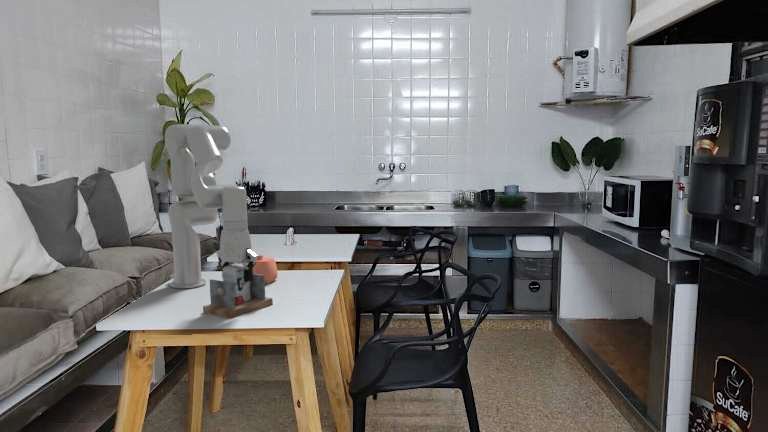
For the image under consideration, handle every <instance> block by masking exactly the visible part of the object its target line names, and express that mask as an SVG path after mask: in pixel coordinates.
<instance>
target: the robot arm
mask: <svg viewBox="0 0 768 432" xmlns="http://www.w3.org/2000/svg"><path fill="white" fill-rule="evenodd" d="M231 141H232V139H231V135H230V132H229V130H228V129H227V128H226V127H225V126H223V125H213V124H189V123H187V124H186V123H183V124H182V123H180V124H172V125H170V126H168V127H167V128H166V130H165V134H164V142H165V146H166V149H167V153H168V155H169V159H170V176H171V177H170V180H171V190H172V194H173V195H174V196H175V197H178V198H194V199H195V200H192V199H191V200H181V201H180V200H179V201H175V202H173V203H171V204H170V206H169V207H168V210H167V211H168V212H167V216H168V220H169V224H170V227H171V228H170V229H171V239H172V255H173V273H171V274H170V275H169V277H170V278H173V280H172V281H171V282H170V287H171V288H174V289H194V288H199V287H202V286H205V285H206V284H207V280H206V279H204V278H202V265H201V261H202V260H201V243H200V237H199V235H198V232H196V230H195V229H194V228H193V227H196V226H207V225H212V224H214V223H215V222H216V221H217V219H218V209H221V210H222V212H221V213H222V215H221V216H222V230H221V233H220V239H219V250H216V255H217V259H218V261H219V263H220V267H221V277H222V279H223V267H226V266H229V265H231V264H235V263H238V264H239V263H242V264H243V266H244V268H245V269H244V282H249V281H252V280H253V269H252V268H254V265H255V264H256V261H257V258H258V256H257V255H258V254H256V253H255V252H254V251H253V249H252V241H251V235H250V231H249V229H248V228H249V227H248V226H249V225H248V204H247V203H248V201H247V189H246V188H245V187H244V186H240V185H236V184H217V180H216V177H215V175H214V174H213V173H214V172H216V171H218V170H219V169H220V168H221V167H222V165H223V163H224V162H223V161H224V159H223V156H222V154H221V151H225V150H228V149H229V148H230V146H231ZM189 149H190V150H189ZM247 263H248V265H247Z"/></svg>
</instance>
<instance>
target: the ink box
mask: <svg viewBox="0 0 768 432" xmlns="http://www.w3.org/2000/svg"><path fill="white" fill-rule="evenodd" d="M247 265H248V264H247ZM244 269H245V268H244V266H243V264H242V263H239V264H238V263H231V264H229V266H226V267H223V278H222V281H224V282H230V283H234V295H235V305H239V304H241V303H243V302H246V301H248V300H250V281H249V282H244Z"/></svg>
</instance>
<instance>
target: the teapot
mask: <svg viewBox="0 0 768 432" xmlns="http://www.w3.org/2000/svg"><path fill="white" fill-rule="evenodd" d="M256 255H257V256H258V258H257V261H256V264H255V265H254V268H252V269H253V274H260V275H264V277H265V285H266V284H270V283H272V282H274V281H276V280H277V278H278V273H279V272H278V268H277V263H276V260H275V257H269V256H268V257H264V255H263V254H256ZM247 264H248V263H247Z"/></svg>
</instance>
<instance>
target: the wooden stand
mask: <svg viewBox="0 0 768 432" xmlns="http://www.w3.org/2000/svg"><path fill="white" fill-rule="evenodd" d="M209 291H210V292H209V293H210V294H209V295H210V304H209V303H208V304H206V305H202V312H203V313H204V314H208V315H213V316H217V317H223V318H226V319H232V318H235V317H238V316H241V315H244V314H248V313H251V312H253V311H254V312H255V311H257V310H259V309H262V308H266V307H269V306H272V305H273V303H274V302H273V301H274V300H273V298H272V297H267V296H266V284H265V277H264V275H260V274H253V280H252V281H250V300H248V301H246V302H243V303H241V304H239V305H235V295H234V283H230V282H224V281H223V280H217V279H211V278H210V279H209Z"/></svg>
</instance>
